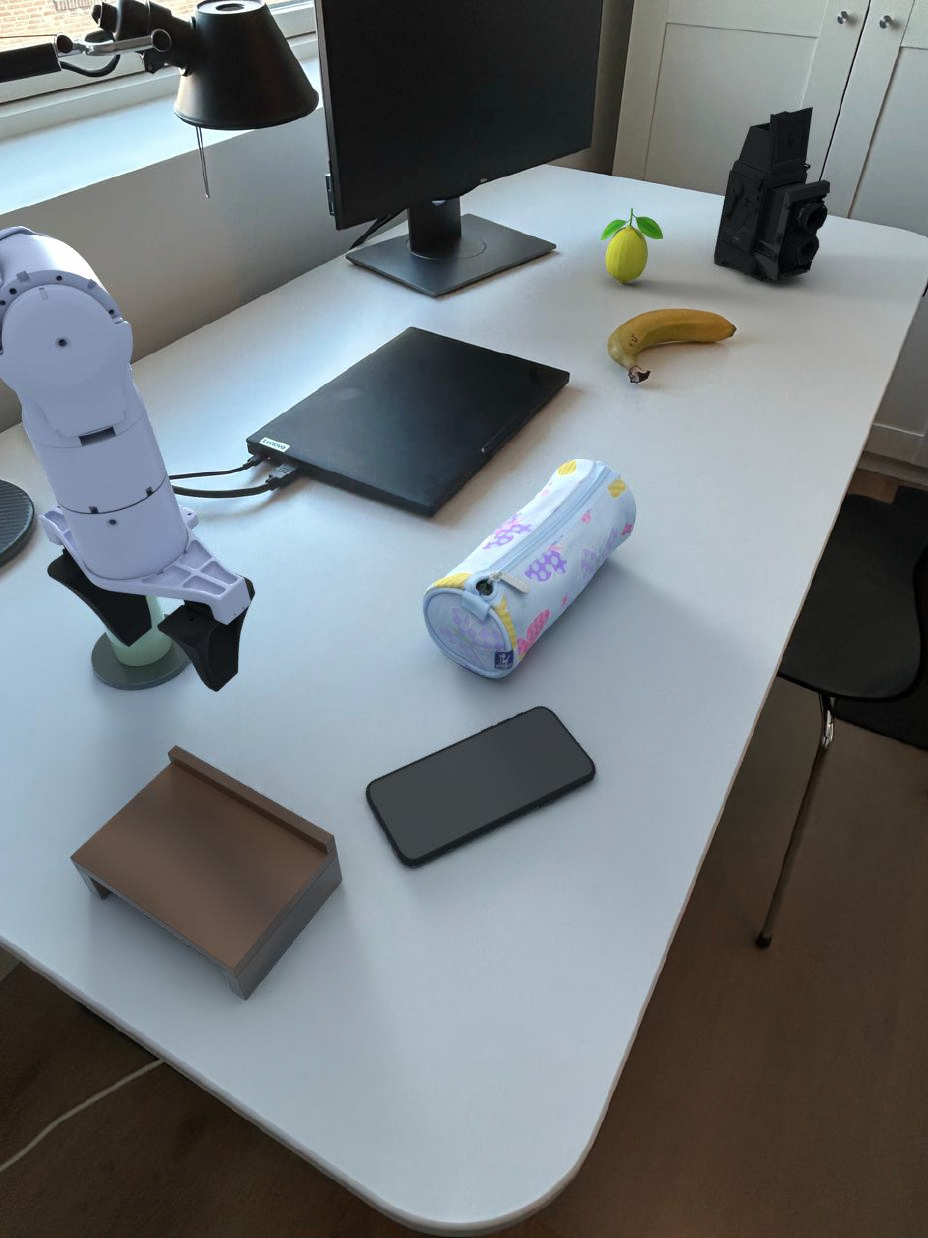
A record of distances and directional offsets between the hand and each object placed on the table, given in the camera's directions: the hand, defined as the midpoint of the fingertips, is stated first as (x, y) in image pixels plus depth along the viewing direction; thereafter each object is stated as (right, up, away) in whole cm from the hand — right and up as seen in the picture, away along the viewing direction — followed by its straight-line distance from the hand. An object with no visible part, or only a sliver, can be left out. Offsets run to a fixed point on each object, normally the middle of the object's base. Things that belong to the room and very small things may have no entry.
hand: (179, 657), depth 56 cm
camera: (+60, +51, +68) cm, 104 cm away
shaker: (-7, 0, +14) cm, 16 cm away
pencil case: (+24, +4, +18) cm, 30 cm away
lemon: (+40, +48, +65) cm, 91 cm away
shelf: (+3, -14, -1) cm, 15 cm away
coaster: (-7, 0, +14) cm, 16 cm away
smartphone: (+19, -9, +5) cm, 22 cm away
